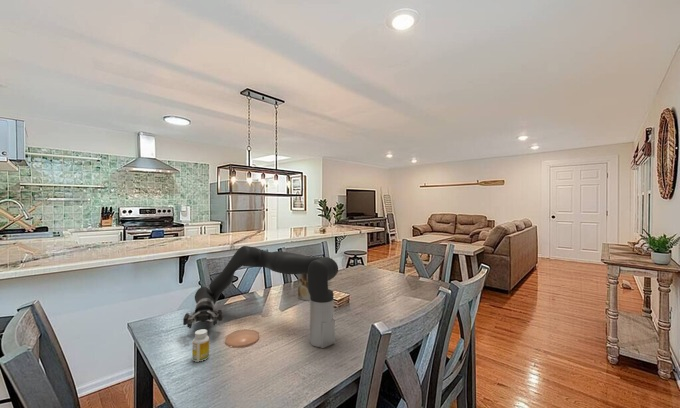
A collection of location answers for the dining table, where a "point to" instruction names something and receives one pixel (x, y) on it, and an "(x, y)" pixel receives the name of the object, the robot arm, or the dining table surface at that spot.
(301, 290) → the coffee box
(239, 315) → the dining table surface
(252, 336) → the terracotta saucer
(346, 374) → the dining table surface
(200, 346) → the supplement bottle
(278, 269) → the robot arm
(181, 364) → the dining table surface
